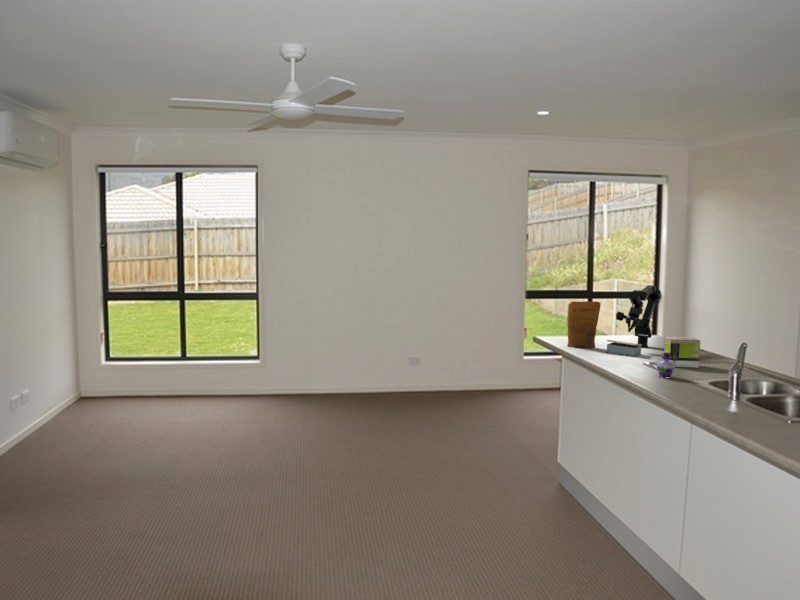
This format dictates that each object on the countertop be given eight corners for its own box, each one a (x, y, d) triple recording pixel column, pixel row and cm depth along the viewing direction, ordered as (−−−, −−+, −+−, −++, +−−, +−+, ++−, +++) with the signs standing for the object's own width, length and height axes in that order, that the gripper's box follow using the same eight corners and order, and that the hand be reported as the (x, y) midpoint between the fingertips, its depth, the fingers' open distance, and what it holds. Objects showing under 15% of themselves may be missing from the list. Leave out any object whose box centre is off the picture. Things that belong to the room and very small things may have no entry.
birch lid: (613, 342, 370) (613, 340, 370) (641, 345, 360) (641, 344, 360) (606, 341, 362) (606, 339, 362) (635, 345, 352) (635, 343, 352)
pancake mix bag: (599, 349, 374) (601, 302, 371) (566, 347, 377) (568, 301, 373) (596, 347, 381) (599, 300, 378) (564, 345, 383) (567, 299, 380)
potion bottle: (655, 378, 303) (657, 353, 301) (654, 374, 311) (656, 350, 309) (675, 379, 300) (676, 355, 298) (674, 376, 308) (675, 351, 306)
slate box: (613, 350, 371) (613, 342, 370) (640, 354, 361) (641, 345, 360) (606, 352, 363) (607, 344, 363) (634, 357, 353) (635, 348, 353)
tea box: (692, 364, 337) (694, 336, 336) (699, 368, 328) (701, 340, 326) (663, 363, 339) (665, 335, 337) (669, 367, 329) (671, 339, 327)
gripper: (620, 298, 369) (612, 320, 363) (653, 305, 361) (646, 328, 355) (619, 308, 378) (612, 330, 372) (652, 315, 370) (645, 338, 364)
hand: (628, 331), depth 366 cm, fingers closed
